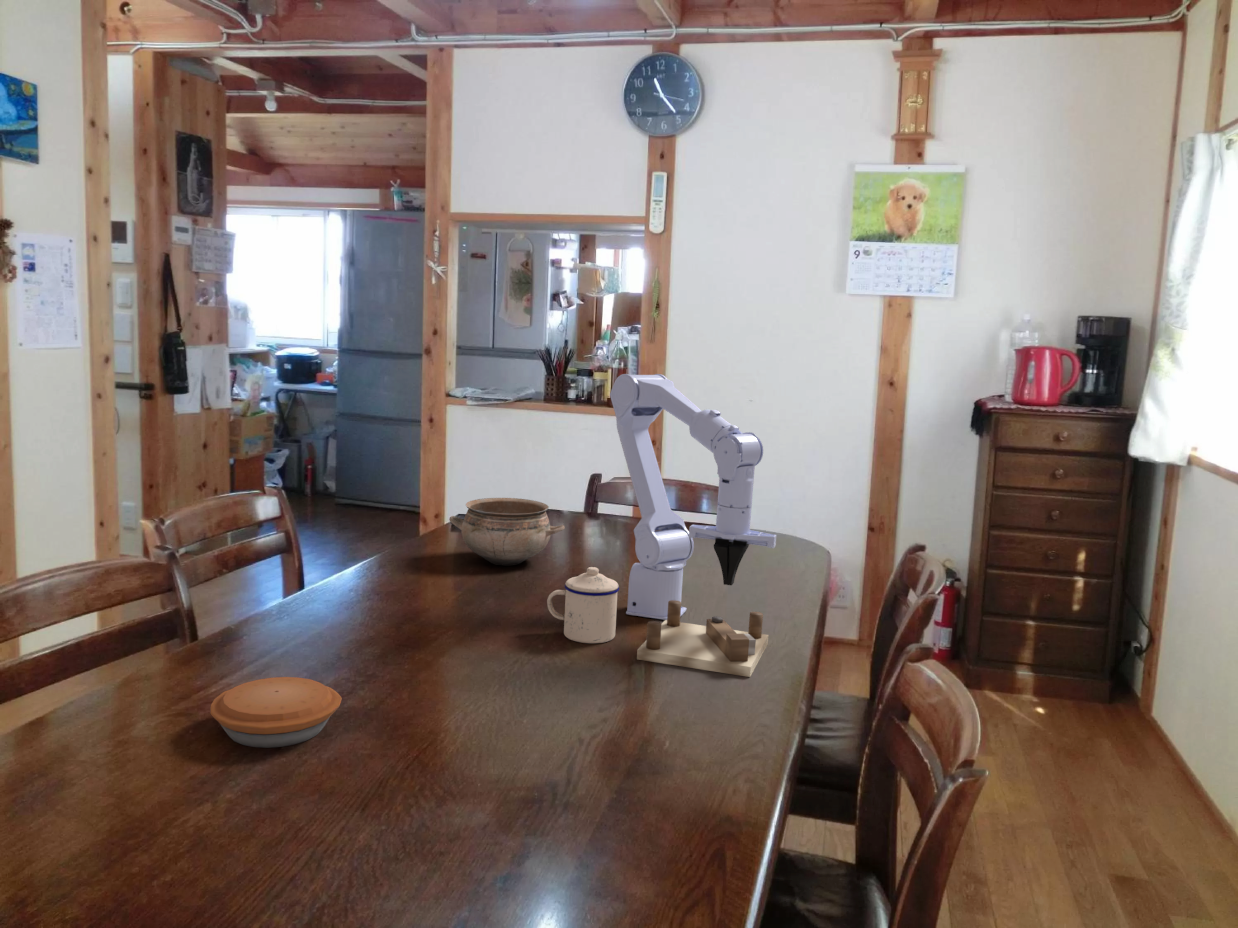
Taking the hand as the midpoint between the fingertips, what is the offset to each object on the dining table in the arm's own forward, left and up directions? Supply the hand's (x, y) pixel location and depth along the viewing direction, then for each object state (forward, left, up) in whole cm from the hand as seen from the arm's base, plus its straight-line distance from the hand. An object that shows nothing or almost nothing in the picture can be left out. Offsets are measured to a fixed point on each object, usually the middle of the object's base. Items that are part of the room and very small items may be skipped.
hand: (728, 583), depth 171 cm
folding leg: (+2, -10, -8) cm, 13 cm away
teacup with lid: (-22, -10, -10) cm, 26 cm away
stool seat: (-1, -9, -9) cm, 13 cm away
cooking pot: (-53, +29, -10) cm, 62 cm away
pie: (-44, -62, -10) cm, 77 cm away
